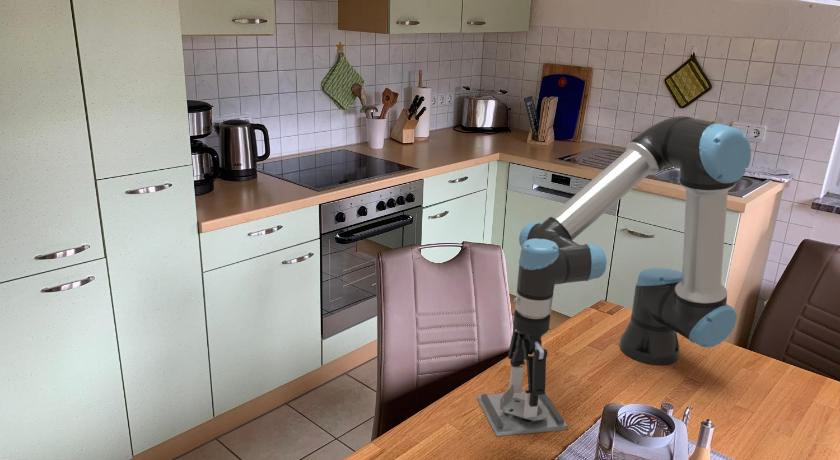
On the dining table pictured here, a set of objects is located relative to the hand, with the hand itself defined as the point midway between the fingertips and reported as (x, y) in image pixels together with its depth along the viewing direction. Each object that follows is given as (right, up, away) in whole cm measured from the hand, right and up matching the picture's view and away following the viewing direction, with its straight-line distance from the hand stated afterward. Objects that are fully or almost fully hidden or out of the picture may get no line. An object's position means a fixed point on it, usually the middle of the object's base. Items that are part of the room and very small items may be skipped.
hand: (522, 403), depth 144 cm
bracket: (0, -1, 0) cm, 1 cm away
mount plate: (0, -2, +1) cm, 3 cm away
